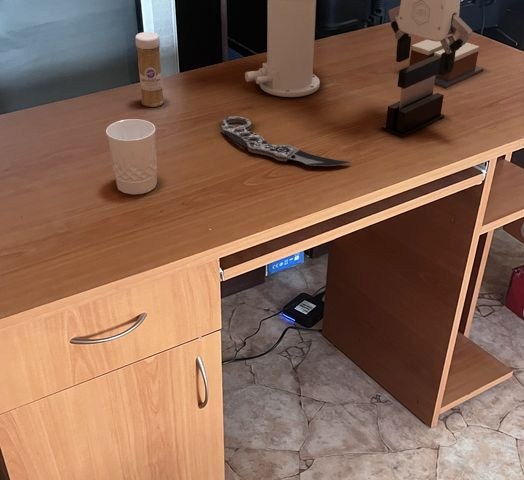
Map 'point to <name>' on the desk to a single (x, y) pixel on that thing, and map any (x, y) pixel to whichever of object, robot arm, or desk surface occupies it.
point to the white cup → (133, 155)
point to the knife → (270, 145)
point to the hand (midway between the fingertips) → (423, 66)
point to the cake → (462, 62)
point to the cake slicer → (418, 81)
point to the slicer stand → (413, 115)
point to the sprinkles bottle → (150, 68)
